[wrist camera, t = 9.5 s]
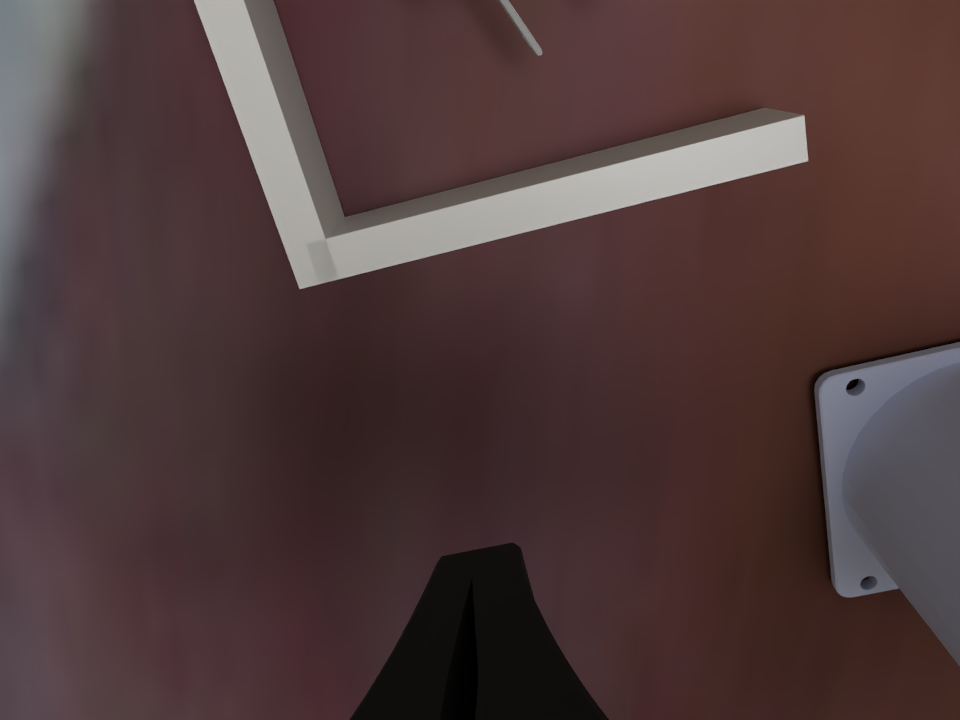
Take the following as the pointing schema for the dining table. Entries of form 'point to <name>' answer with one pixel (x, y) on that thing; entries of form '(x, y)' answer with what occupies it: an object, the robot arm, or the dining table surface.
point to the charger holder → (464, 210)
